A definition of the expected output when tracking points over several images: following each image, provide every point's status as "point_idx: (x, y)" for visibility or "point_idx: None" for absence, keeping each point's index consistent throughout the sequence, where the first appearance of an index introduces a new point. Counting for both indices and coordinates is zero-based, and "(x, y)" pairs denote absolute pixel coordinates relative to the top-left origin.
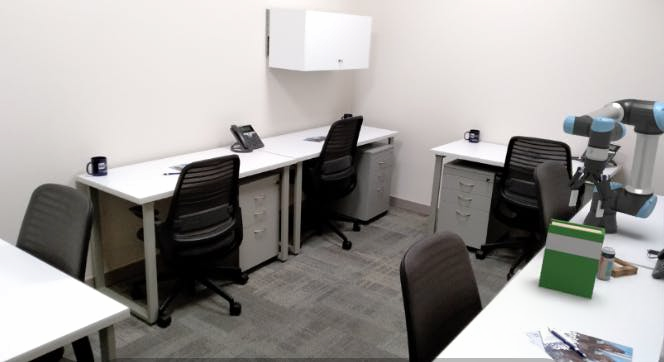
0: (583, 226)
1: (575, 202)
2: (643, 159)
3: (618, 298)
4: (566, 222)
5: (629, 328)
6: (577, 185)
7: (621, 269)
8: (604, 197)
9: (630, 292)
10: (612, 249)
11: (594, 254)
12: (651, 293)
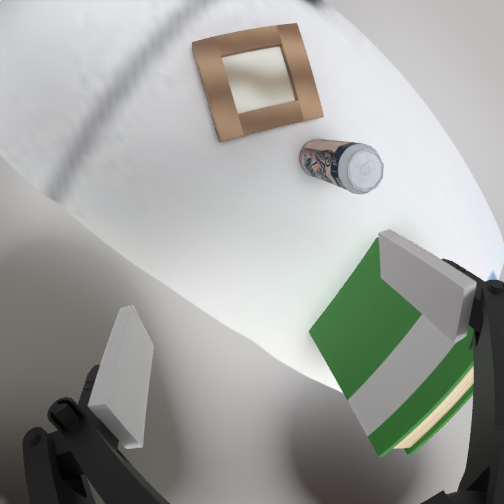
0: (456, 382)
1: (131, 327)
2: None
3: (412, 194)
4: (418, 424)
5: (474, 246)
6: (155, 491)
7: (310, 87)
8: (487, 313)
9: (392, 139)
10: (367, 155)
11: None
12: (397, 87)
